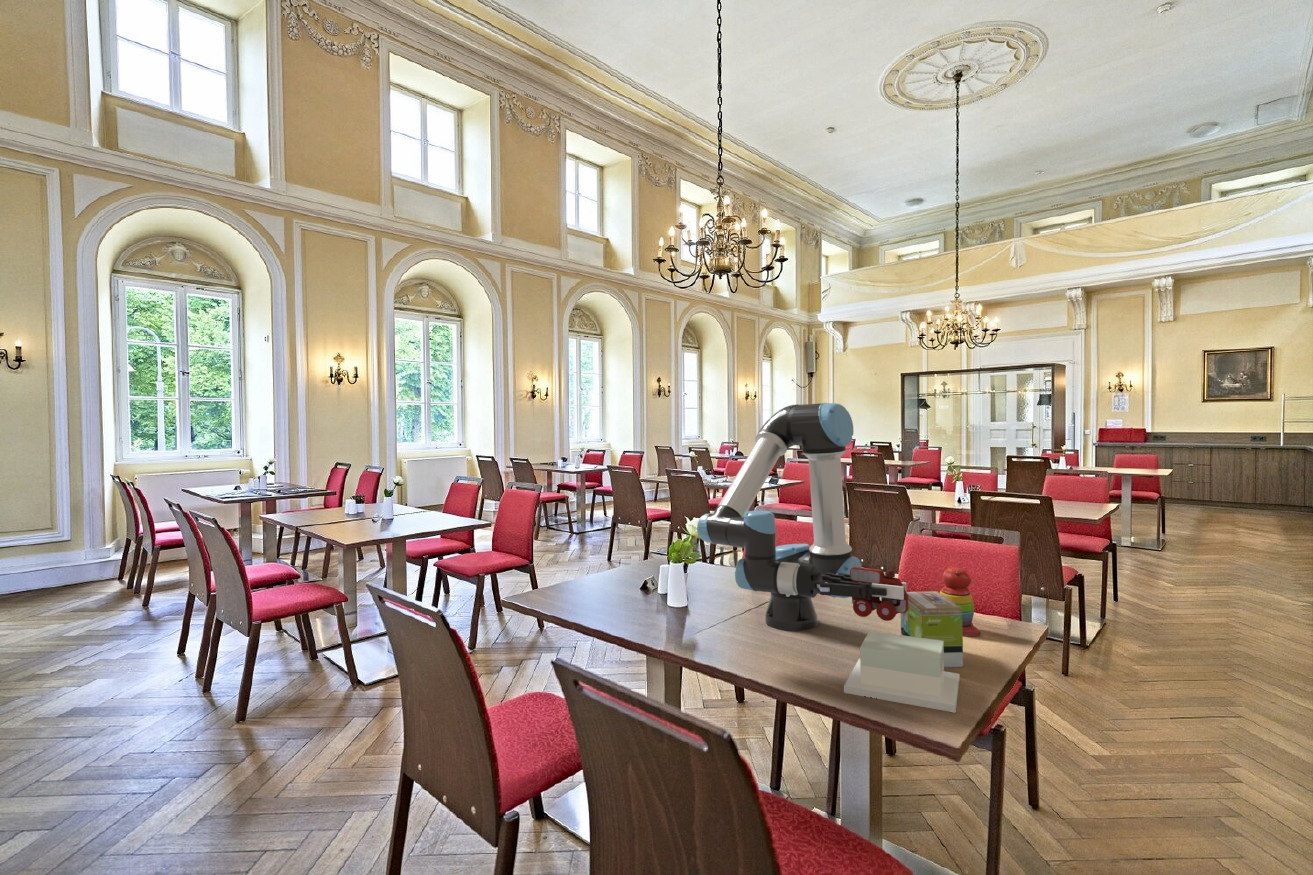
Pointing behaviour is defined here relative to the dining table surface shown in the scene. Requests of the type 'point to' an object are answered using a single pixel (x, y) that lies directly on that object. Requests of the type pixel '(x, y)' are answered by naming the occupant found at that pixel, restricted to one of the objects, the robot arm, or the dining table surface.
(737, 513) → the robot arm
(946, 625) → the tea box
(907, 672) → the block on white base
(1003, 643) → the dining table surface
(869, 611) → the toy fire truck
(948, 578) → the stacking bear
